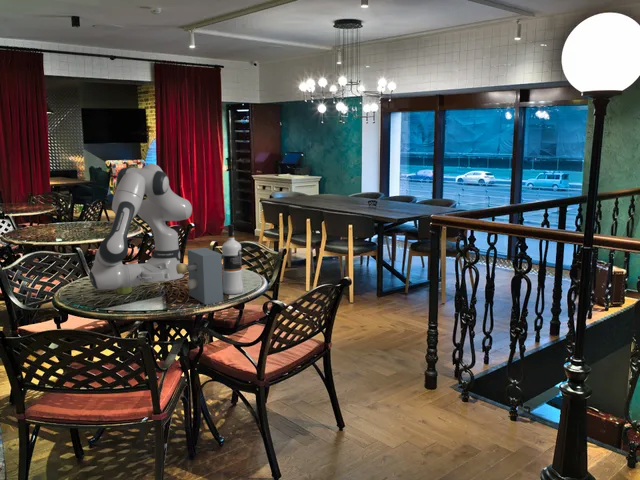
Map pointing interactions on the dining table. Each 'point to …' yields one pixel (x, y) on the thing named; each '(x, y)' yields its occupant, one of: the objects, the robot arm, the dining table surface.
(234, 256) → the vodka
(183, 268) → the knob upper
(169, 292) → the dining table surface
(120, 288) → the plant pot
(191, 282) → the knob lower
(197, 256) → the console
